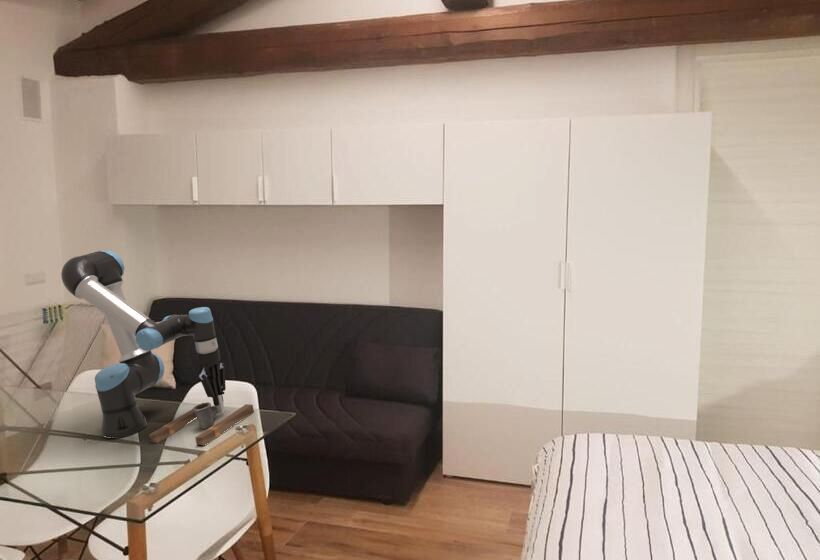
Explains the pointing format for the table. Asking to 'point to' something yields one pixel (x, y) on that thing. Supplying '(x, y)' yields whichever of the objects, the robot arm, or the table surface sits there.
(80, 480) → the table surface
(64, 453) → the table surface
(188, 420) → the guide rails
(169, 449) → the table surface
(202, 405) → the pipe
